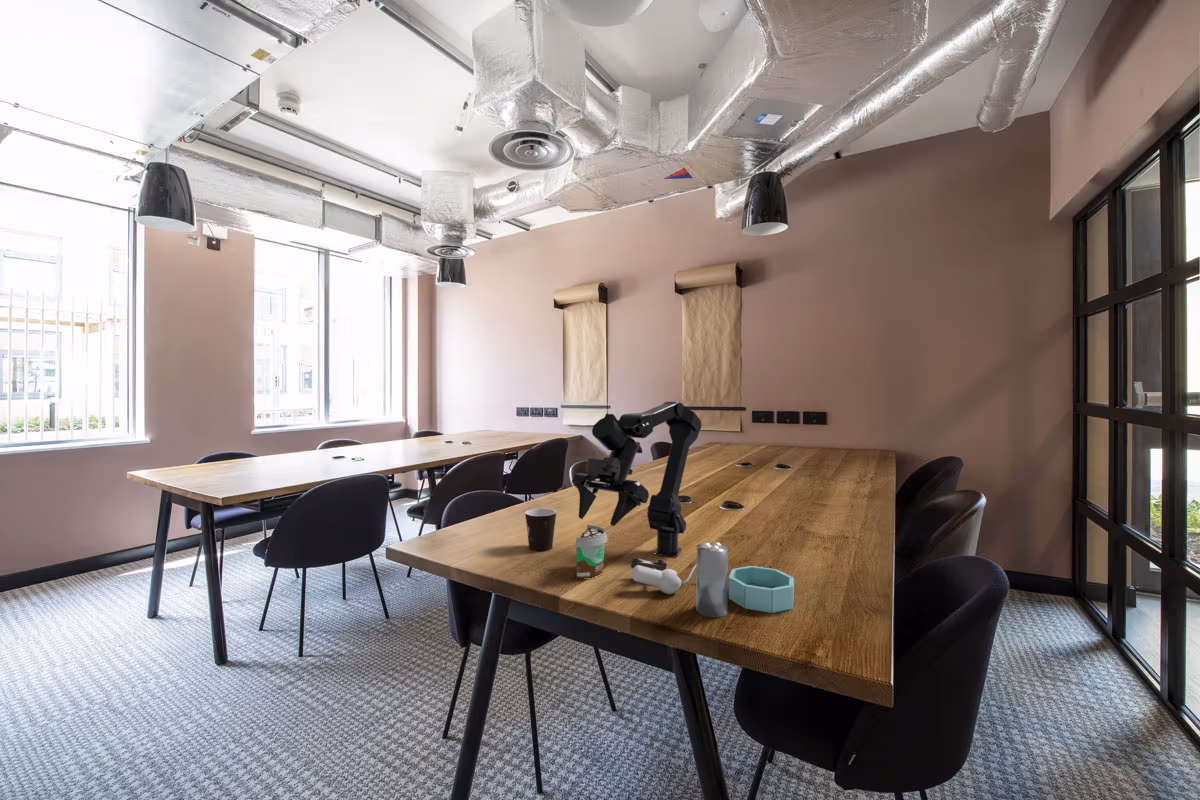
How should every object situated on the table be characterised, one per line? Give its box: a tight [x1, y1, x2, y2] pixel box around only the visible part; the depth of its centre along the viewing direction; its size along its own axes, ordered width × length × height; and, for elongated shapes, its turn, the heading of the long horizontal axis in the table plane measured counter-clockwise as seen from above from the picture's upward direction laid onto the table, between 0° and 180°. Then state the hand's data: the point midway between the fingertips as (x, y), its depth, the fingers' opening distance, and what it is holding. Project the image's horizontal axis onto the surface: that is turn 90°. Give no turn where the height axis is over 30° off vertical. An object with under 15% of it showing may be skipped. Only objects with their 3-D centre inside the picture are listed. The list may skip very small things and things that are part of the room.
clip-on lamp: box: [630, 557, 697, 595], centre depth 108 cm, size 12×6×18 cm
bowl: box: [728, 565, 795, 614], centre depth 102 cm, size 13×13×4 cm
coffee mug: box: [524, 508, 557, 553], centre depth 134 cm, size 12×9×10 cm
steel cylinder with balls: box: [695, 541, 729, 619], centre depth 96 cm, size 6×6×13 cm
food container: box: [575, 524, 608, 580], centre depth 116 cm, size 12×6×10 cm, turn 168°
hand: (595, 521), depth 108 cm, fingers open, 9 cm apart
